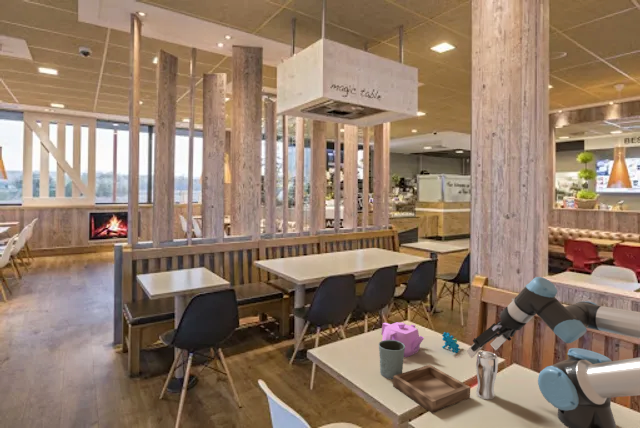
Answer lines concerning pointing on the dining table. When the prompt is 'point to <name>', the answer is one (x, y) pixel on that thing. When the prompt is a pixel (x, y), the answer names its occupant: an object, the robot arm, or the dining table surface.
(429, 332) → the dining table surface
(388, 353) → the grey green cup
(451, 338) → the teal spiky toy
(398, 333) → the teakettle
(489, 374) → the beer glass
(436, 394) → the tray
